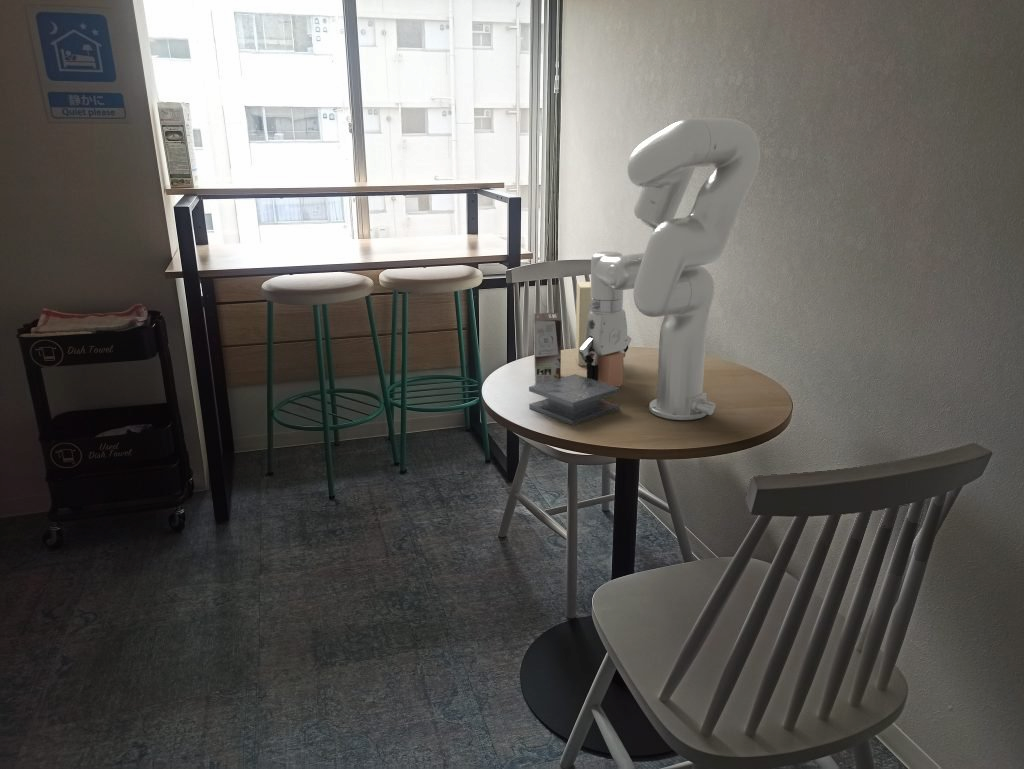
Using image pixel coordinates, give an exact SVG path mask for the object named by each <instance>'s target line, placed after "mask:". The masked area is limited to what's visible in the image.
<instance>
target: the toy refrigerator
mask: <svg viewBox="0 0 1024 769" xmlns="http://www.w3.org/2000/svg"><path fill="white" fill-rule="evenodd" d="M575 298H576V299H575V300H576V303H575V304H576V305H575V306H576V307H575V308H576V310H575V314H576V315H575V359H576V360H575V361H576V362H577V366H580V367H581V366H582V367H583V366H585V367H587V363H585V361H584V360H583V359H582V356H581V354H580V353H579V349H580V348H581V347H582V345H583V344H584V343H585V342H586V331H587V322H588V317H589V312H591V309H590V308H589V304H591V281H577V282H576V297H575Z"/></svg>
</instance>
